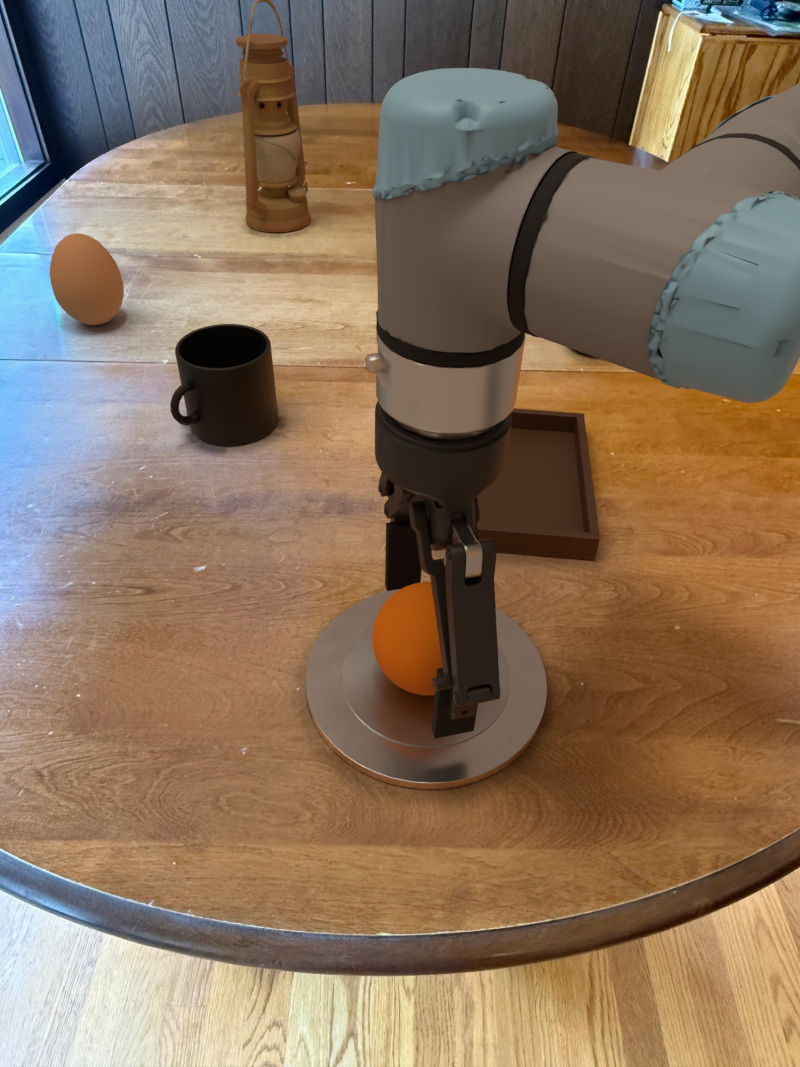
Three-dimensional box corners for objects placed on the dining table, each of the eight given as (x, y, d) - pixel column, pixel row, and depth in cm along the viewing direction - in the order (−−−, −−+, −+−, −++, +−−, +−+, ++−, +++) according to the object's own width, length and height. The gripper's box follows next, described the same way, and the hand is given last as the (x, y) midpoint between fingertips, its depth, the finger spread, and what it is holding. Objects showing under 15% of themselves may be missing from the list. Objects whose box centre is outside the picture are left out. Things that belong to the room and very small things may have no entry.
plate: (585, 758, 54) (587, 751, 53) (328, 815, 50) (328, 808, 50) (498, 578, 67) (499, 570, 66) (290, 613, 63) (289, 605, 62)
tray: (594, 560, 68) (600, 539, 67) (418, 545, 69) (419, 524, 68) (579, 433, 83) (584, 413, 81) (434, 422, 84) (435, 402, 82)
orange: (494, 706, 56) (506, 633, 50) (386, 728, 54) (386, 655, 49) (461, 624, 61) (469, 551, 56) (362, 641, 60) (360, 568, 54)
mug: (151, 433, 81) (133, 356, 75) (238, 388, 88) (228, 314, 82) (209, 470, 77) (195, 391, 71) (296, 419, 84) (290, 343, 78)
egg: (112, 341, 96) (89, 252, 88) (51, 334, 97) (23, 244, 89) (142, 311, 102) (123, 225, 94) (84, 304, 103) (60, 218, 95)
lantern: (296, 241, 120) (280, 10, 99) (232, 236, 121) (203, 6, 101) (320, 207, 131) (310, -8, 110) (261, 202, 132) (240, -11, 112)
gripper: (334, 305, 50) (342, 543, 64) (442, 574, 32) (420, 821, 47) (445, 295, 51) (429, 530, 66) (607, 547, 34) (536, 795, 48)
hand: (425, 651), depth 56 cm, fingers open, 13 cm apart
